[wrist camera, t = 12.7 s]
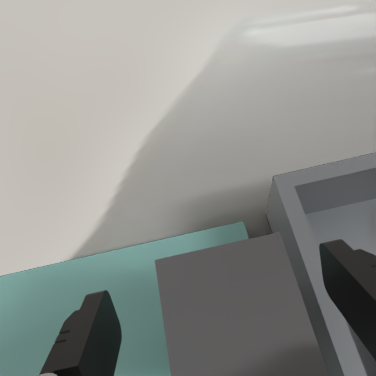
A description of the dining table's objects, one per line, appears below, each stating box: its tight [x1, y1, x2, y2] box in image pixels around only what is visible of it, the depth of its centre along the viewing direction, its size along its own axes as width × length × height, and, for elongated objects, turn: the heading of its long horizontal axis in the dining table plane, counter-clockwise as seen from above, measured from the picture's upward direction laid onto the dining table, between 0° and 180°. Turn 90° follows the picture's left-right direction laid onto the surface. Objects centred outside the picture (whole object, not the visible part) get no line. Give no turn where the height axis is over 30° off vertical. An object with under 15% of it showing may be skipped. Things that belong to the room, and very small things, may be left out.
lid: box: [0, 221, 329, 376], centre depth 13 cm, size 16×12×11 cm
